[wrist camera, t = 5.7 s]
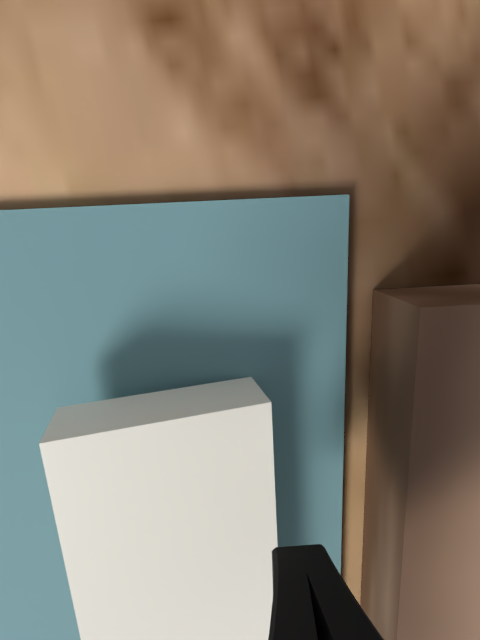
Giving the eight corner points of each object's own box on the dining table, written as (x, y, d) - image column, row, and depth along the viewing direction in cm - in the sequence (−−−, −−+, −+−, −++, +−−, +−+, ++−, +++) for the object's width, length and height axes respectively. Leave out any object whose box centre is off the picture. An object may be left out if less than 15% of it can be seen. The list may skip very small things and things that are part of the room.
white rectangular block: (39, 443, 9) (56, 407, 11) (95, 708, 11) (102, 639, 13) (271, 402, 10) (251, 376, 12) (281, 643, 12) (263, 590, 14)
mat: (345, 195, 11) (349, 194, 11) (335, 673, 16) (338, 684, 16) (-254, 223, 11) (-272, 222, 10) (-83, 707, 15) (-91, 719, 15)
